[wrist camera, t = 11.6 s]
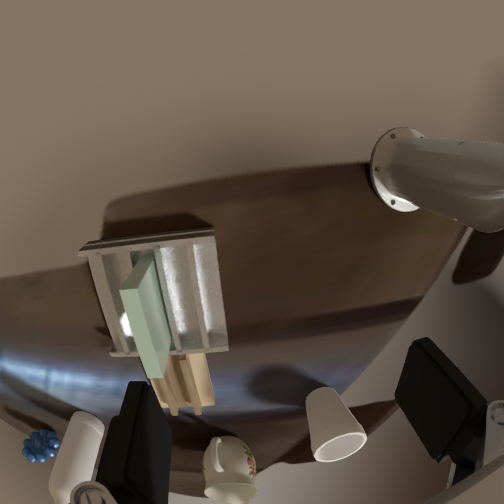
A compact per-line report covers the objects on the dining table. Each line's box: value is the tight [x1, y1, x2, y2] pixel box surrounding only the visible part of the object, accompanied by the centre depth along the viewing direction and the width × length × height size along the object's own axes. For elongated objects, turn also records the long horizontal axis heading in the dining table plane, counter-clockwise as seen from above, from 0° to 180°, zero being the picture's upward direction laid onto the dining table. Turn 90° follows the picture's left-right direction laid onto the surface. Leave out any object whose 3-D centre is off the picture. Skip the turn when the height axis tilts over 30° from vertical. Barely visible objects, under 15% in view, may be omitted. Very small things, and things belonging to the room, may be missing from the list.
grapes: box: [22, 429, 60, 463], centre depth 44 cm, size 12×7×12 cm, turn 95°
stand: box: [150, 353, 215, 416], centre depth 44 cm, size 10×14×4 cm
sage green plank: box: [119, 255, 172, 378], centre depth 34 cm, size 2×12×10 cm, turn 4°
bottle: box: [49, 411, 104, 504], centre depth 34 cm, size 8×8×30 cm
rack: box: [78, 227, 229, 357], centre depth 38 cm, size 18×17×4 cm
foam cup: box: [305, 387, 367, 462], centre depth 45 cm, size 10×9×13 cm
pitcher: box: [202, 436, 258, 504], centre depth 47 cm, size 11×18×14 cm, turn 14°
